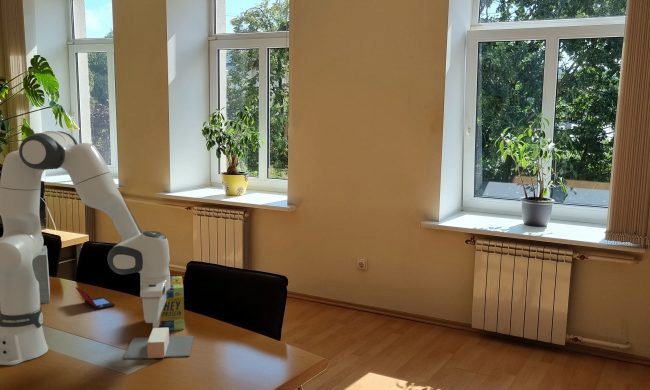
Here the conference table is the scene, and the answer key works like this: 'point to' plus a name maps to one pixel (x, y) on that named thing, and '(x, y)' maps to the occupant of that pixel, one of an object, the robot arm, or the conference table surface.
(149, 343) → the tall block
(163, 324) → the protein box
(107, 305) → the handheld game console
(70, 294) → the conference table surface
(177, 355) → the mat
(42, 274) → the hard drive box
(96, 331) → the conference table surface
